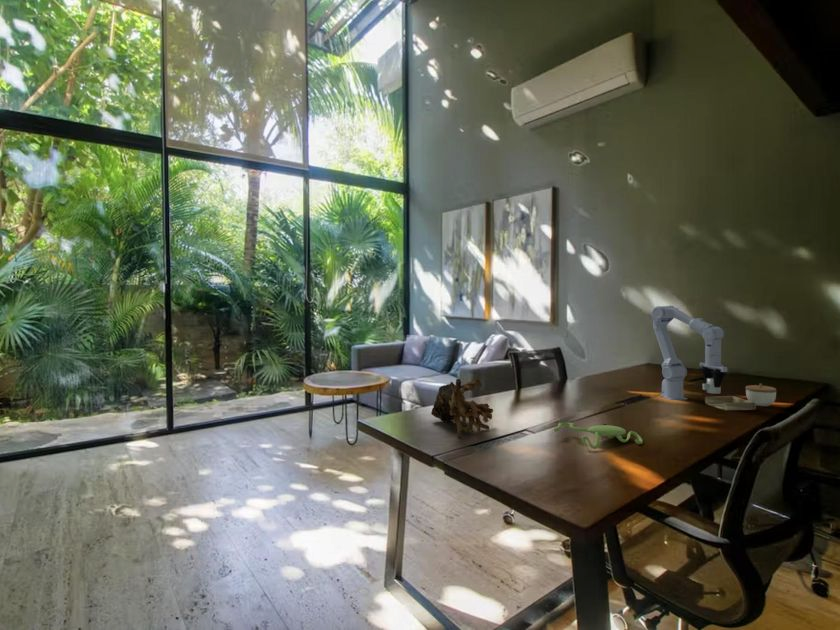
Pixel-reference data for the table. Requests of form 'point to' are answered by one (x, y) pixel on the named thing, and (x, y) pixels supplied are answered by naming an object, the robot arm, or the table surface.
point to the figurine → (602, 433)
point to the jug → (711, 387)
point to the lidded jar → (761, 394)
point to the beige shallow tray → (730, 403)
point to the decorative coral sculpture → (460, 406)
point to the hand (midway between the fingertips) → (712, 385)
